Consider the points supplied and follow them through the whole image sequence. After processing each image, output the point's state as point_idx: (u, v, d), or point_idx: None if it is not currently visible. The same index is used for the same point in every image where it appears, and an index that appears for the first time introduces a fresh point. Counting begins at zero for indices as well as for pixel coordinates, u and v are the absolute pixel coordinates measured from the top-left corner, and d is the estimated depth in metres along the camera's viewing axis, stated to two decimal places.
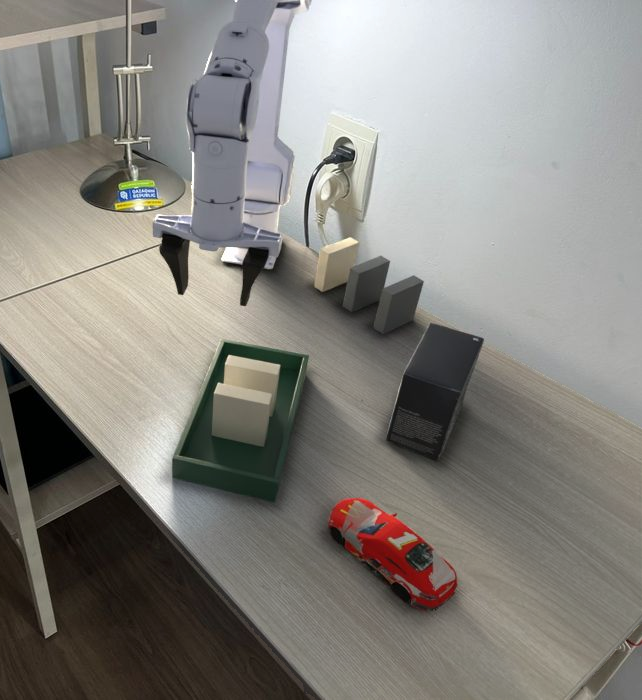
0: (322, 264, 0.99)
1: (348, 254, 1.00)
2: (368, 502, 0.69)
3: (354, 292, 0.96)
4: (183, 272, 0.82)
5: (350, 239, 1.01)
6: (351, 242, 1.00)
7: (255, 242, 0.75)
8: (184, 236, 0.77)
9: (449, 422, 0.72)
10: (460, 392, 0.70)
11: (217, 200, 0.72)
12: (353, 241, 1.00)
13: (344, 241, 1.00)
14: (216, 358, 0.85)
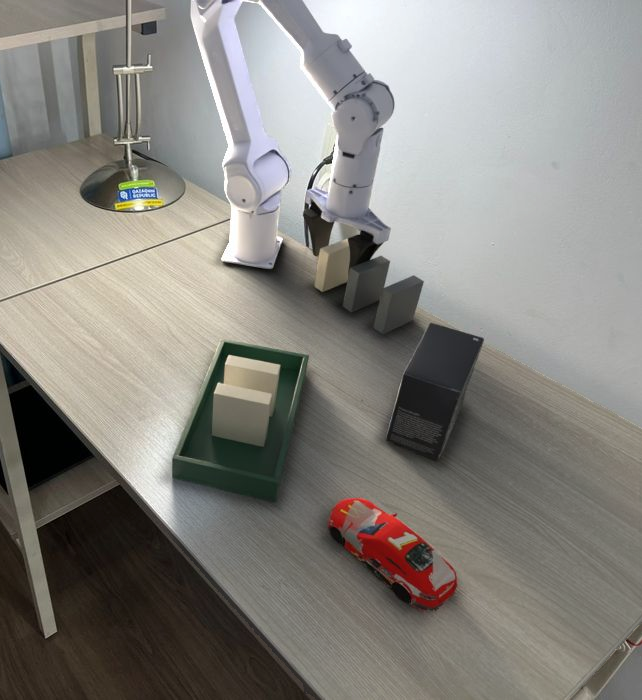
0: (322, 264, 0.99)
1: (348, 254, 1.00)
2: (368, 502, 0.69)
3: (354, 292, 0.96)
4: (320, 238, 1.02)
5: None
6: None
7: (363, 226, 0.92)
8: (319, 206, 0.97)
9: (449, 422, 0.72)
10: (460, 392, 0.70)
11: (373, 179, 0.92)
12: None
13: (344, 241, 1.00)
14: (216, 358, 0.85)
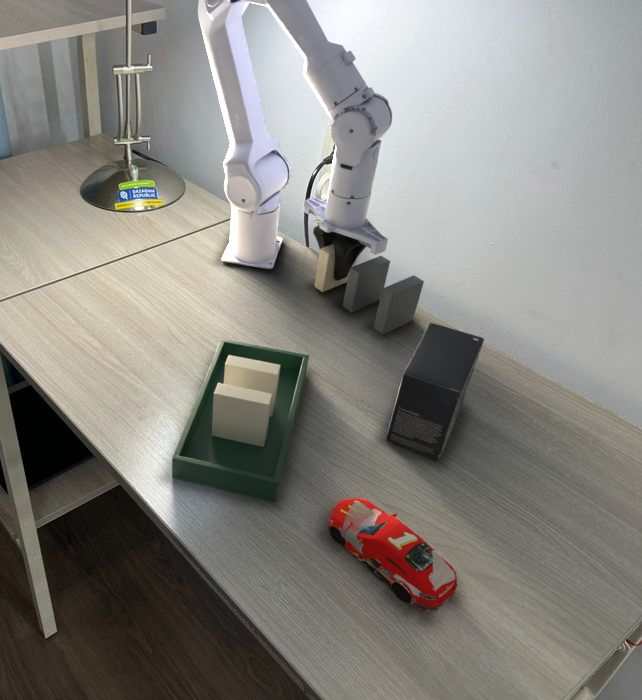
0: (322, 264, 0.99)
1: None
2: (368, 502, 0.69)
3: (354, 292, 0.96)
4: None
5: None
6: None
7: (361, 236, 0.93)
8: (317, 216, 0.98)
9: (449, 422, 0.72)
10: (460, 392, 0.70)
11: (371, 190, 0.93)
12: None
13: None
14: (216, 358, 0.85)
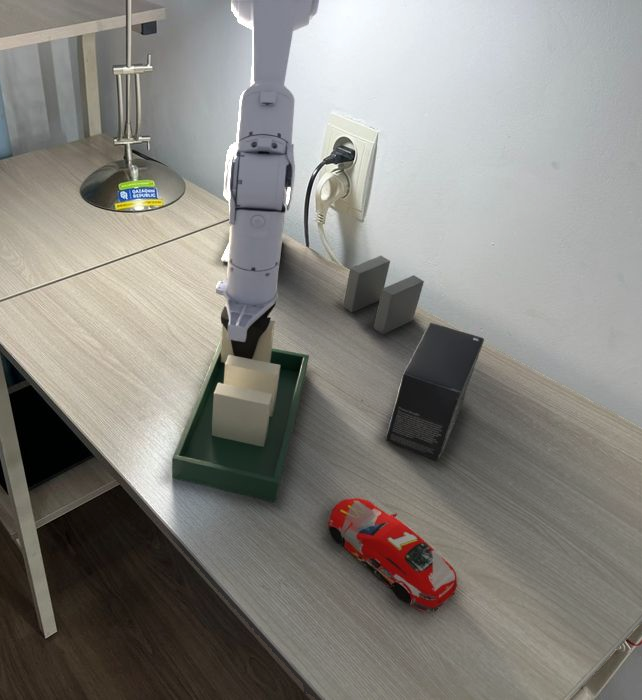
0: None
1: None
2: (368, 502, 0.69)
3: (354, 292, 0.96)
4: None
5: (270, 322, 0.82)
6: None
7: (228, 312, 0.76)
8: None
9: (449, 422, 0.72)
10: (460, 392, 0.70)
11: (258, 268, 0.74)
12: None
13: None
14: (216, 358, 0.85)
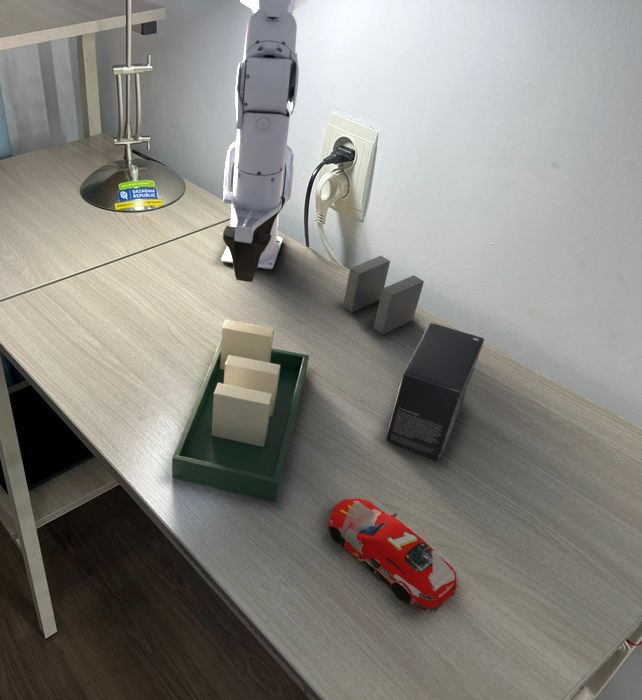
0: None
1: (255, 344, 0.83)
2: (368, 502, 0.69)
3: (354, 292, 0.96)
4: (255, 230, 0.91)
5: (269, 329, 0.83)
6: (264, 332, 0.82)
7: (235, 216, 0.81)
8: None
9: (449, 422, 0.72)
10: (460, 392, 0.70)
11: (263, 172, 0.79)
12: (267, 332, 0.82)
13: (259, 327, 0.83)
14: (216, 358, 0.85)
